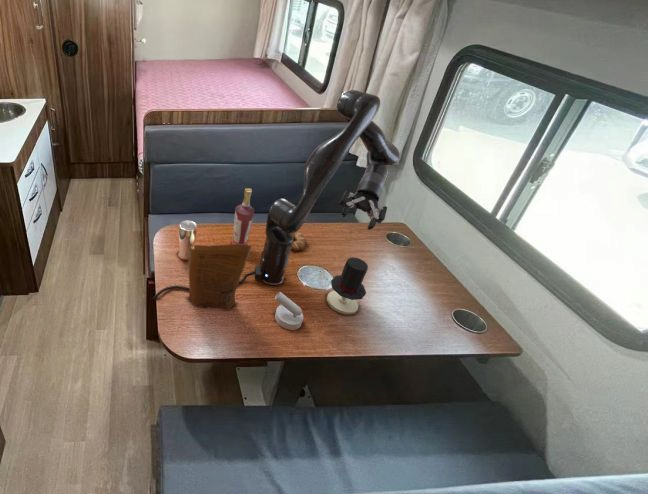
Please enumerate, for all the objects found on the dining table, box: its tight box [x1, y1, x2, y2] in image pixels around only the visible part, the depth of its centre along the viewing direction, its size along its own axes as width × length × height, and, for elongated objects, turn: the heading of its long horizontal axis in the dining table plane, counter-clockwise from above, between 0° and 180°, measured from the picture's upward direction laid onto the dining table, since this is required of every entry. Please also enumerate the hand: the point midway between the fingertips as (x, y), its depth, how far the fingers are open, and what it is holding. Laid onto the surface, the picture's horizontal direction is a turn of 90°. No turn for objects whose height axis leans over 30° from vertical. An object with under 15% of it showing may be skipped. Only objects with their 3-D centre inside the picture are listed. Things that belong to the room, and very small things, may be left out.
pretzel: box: [291, 231, 308, 252], centre depth 164 cm, size 12×11×4 cm
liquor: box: [230, 187, 256, 245], centre depth 156 cm, size 7×7×28 cm
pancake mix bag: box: [187, 244, 252, 310], centre depth 130 cm, size 7×19×28 cm, turn 83°
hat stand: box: [326, 290, 359, 316], centre depth 133 cm, size 10×10×18 cm
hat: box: [330, 256, 369, 301], centre depth 131 cm, size 11×11×11 cm
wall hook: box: [274, 291, 304, 331], centre depth 129 cm, size 9×10×10 cm
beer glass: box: [177, 219, 198, 261], centre depth 154 cm, size 7×7×15 cm
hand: (356, 222), depth 130 cm, fingers open, 8 cm apart
